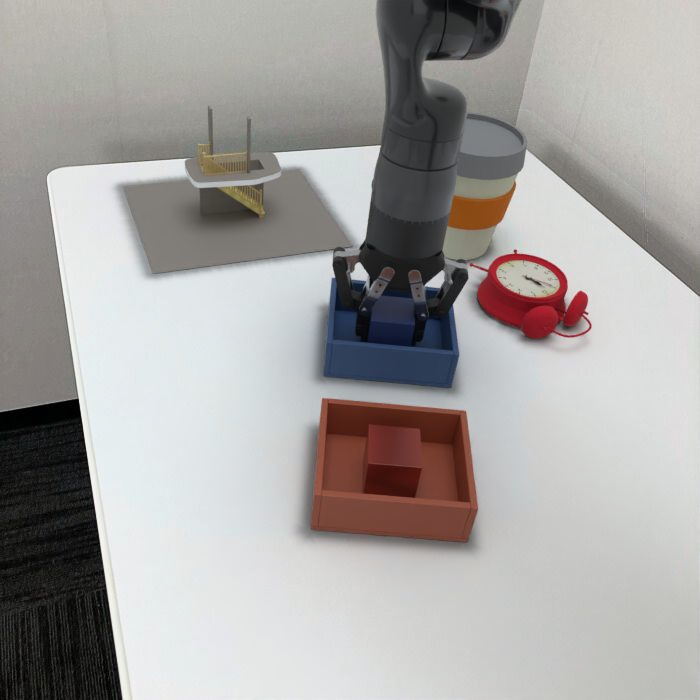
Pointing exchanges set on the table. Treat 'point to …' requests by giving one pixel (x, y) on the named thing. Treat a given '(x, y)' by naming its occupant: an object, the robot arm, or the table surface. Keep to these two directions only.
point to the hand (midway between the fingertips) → (388, 338)
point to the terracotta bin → (392, 511)
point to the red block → (392, 461)
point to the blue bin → (390, 348)
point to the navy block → (392, 321)
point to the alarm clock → (530, 295)
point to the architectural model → (230, 212)
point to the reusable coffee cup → (483, 184)
